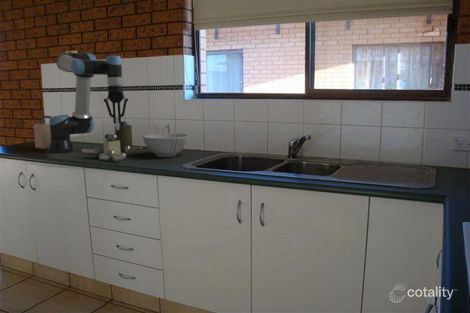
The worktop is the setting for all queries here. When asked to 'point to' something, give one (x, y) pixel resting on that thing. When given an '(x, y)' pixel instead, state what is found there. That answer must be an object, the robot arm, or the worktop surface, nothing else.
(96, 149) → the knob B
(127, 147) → the knob
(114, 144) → the tribrach plate
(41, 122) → the soap dispenser
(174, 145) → the decorative bowl
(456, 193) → the worktop surface
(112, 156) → the knob
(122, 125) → the canister
